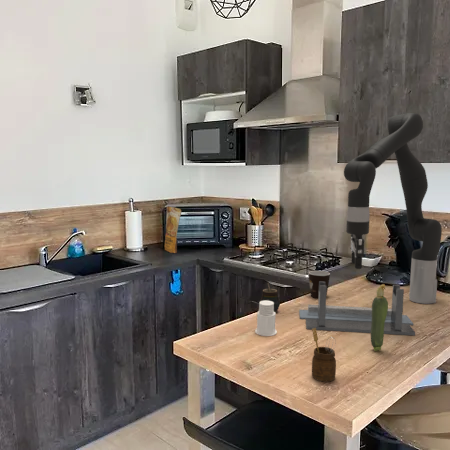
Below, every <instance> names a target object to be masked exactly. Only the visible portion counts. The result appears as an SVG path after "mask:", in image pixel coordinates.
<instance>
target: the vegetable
mask: <svg viewBox="0 0 450 450" xmlns="http://www.w3.org/2000/svg"><path fill="white" fill-rule="evenodd" d="M385 290H386V285H385V284H384V283H383V284H381V285H380V286H379V287H378V288H377V290H376V293H375V294H376V296H375V297H374V298H373V299H372V302H371V303H372V304H371V308H372V325H371V333H370V343H371V346H372V348H373V350H374V352H377V351H381V350H382V346H383V345H384V335H385V334H384V324H385V319H386V316H387V311H388V309H389V303H388V300H387V298H386V297H385Z"/></svg>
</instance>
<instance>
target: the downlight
mask: <svg viewBox="0 0 450 450" xmlns="http://www.w3.org/2000/svg"><path fill="white" fill-rule="evenodd" d="M258 304H259V307H258V308H259V309H258V311H257V312H256V317H257V318H256V328H255V330H254V332H255V334H257V335H259V336H262V337H270V336H272V337H273V336H275V335H276V334H278V333H277V332H278V331H277V329H276V316H277V314H276V312H274V302H272V301H267V300H264V301H259V303H258Z"/></svg>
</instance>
